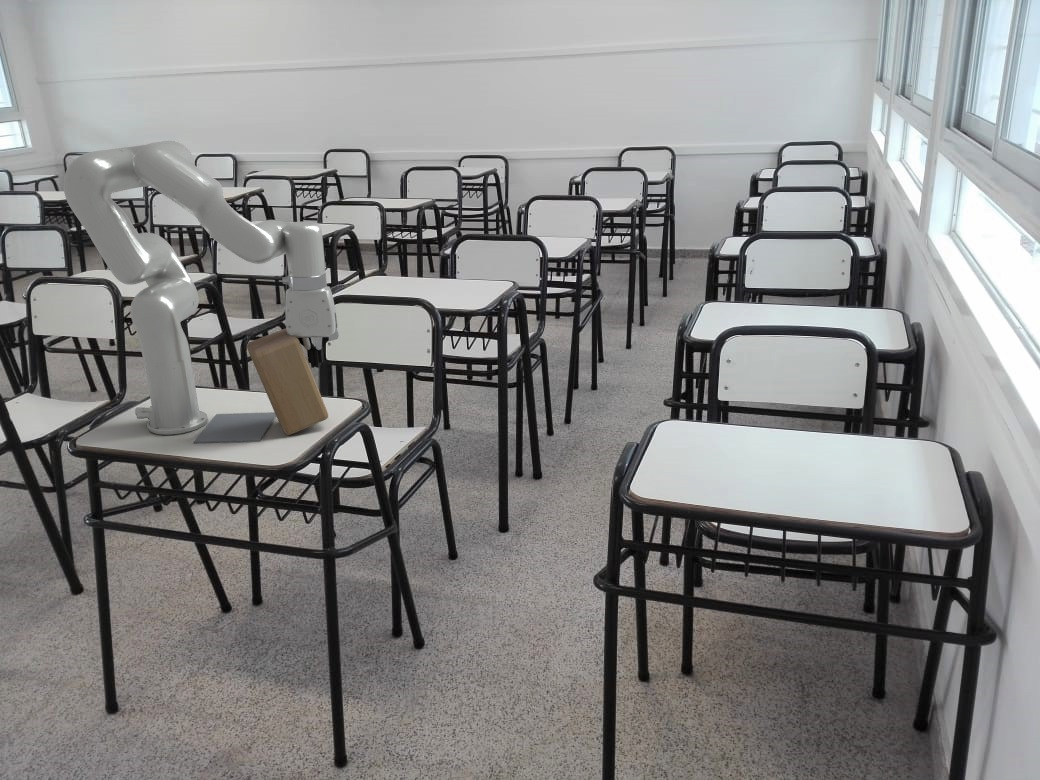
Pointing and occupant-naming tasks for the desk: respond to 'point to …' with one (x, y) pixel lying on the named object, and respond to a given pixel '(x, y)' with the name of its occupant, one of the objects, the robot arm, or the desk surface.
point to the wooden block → (288, 381)
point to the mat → (236, 428)
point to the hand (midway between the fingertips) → (316, 365)
